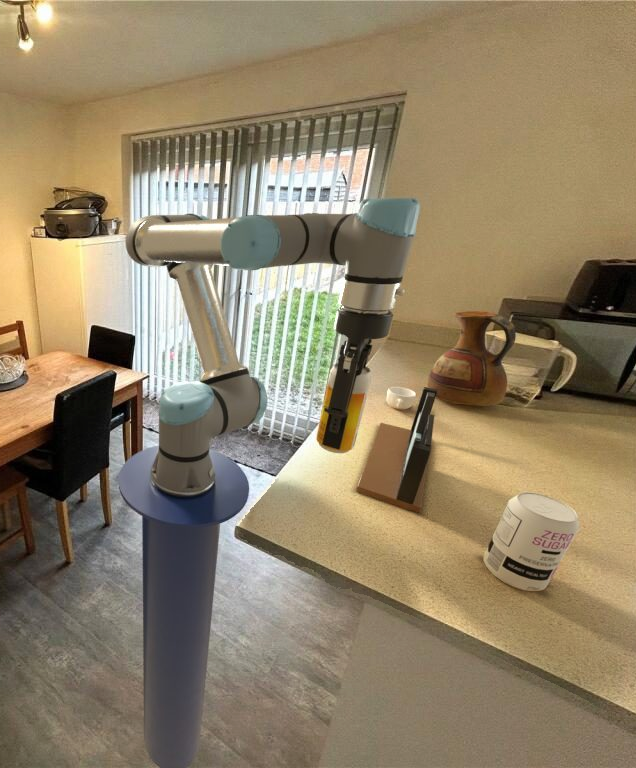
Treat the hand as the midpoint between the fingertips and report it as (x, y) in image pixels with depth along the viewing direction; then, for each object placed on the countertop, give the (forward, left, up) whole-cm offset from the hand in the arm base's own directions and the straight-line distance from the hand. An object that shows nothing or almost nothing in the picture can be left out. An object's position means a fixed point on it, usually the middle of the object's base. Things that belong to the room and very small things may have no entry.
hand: (335, 437), depth 69 cm
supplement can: (+30, +11, -23) cm, 39 cm away
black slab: (+12, +32, -19) cm, 40 cm away
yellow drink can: (0, 0, -2) cm, 2 cm away
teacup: (+7, +74, -23) cm, 78 cm away
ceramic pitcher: (+23, +92, -23) cm, 97 cm away
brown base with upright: (+10, +38, -22) cm, 45 cm away
